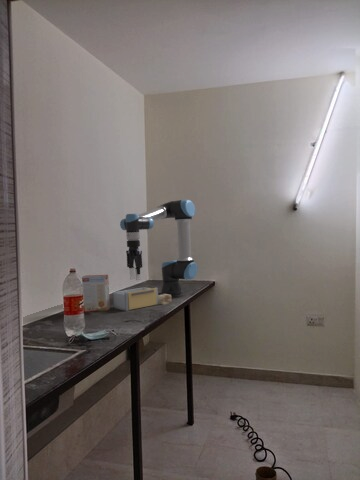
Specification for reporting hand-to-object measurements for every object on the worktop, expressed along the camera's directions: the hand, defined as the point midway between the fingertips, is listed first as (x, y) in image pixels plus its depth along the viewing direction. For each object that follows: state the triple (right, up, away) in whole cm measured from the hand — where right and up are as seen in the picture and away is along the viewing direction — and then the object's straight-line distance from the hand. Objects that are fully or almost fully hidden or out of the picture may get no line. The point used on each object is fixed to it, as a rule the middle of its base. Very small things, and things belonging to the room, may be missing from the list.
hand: (135, 279), depth 229 cm
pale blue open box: (0, -17, +1) cm, 17 cm away
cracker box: (-22, -18, -4) cm, 28 cm away
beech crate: (+17, -16, +6) cm, 24 cm away
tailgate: (+5, -16, -5) cm, 17 cm away
